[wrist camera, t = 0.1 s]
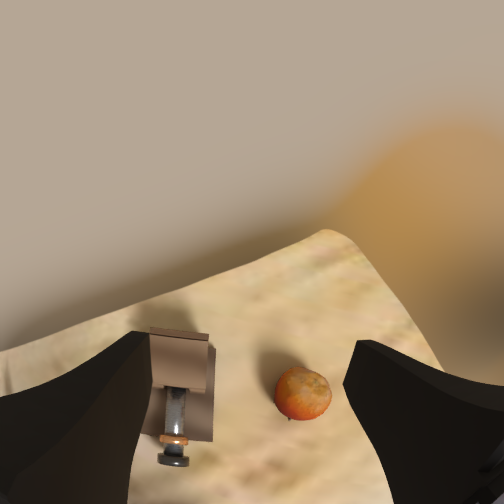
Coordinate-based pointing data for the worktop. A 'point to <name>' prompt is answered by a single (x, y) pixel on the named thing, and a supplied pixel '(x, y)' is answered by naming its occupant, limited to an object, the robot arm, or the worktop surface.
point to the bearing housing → (182, 381)
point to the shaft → (174, 429)
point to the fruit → (302, 394)
